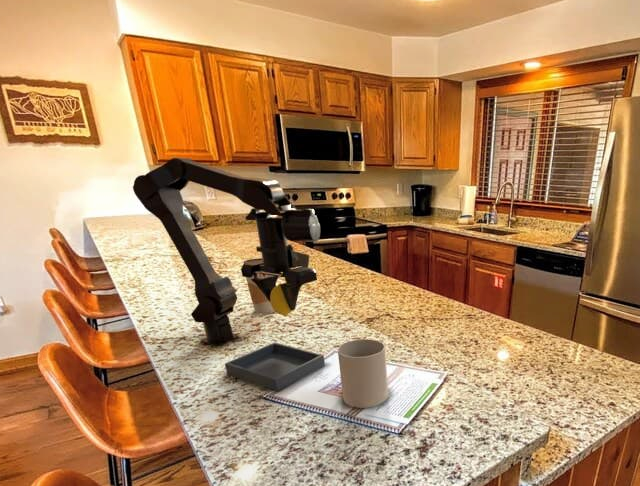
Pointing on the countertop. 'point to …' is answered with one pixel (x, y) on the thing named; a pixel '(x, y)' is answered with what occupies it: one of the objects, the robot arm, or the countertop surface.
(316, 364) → the tray
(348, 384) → the cup
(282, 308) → the lemon
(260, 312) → the coffee cup
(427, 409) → the countertop surface
